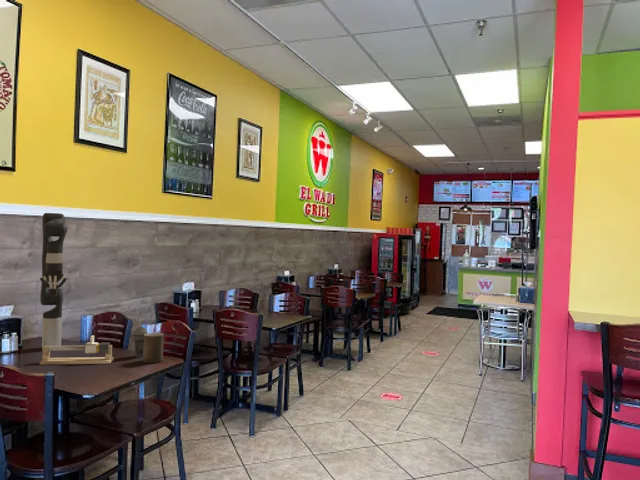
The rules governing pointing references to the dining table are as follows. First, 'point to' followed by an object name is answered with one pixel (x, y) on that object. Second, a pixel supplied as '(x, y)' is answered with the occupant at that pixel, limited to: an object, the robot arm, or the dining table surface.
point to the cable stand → (100, 348)
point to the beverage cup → (139, 340)
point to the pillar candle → (153, 347)
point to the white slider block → (91, 346)
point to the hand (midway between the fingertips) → (53, 296)
